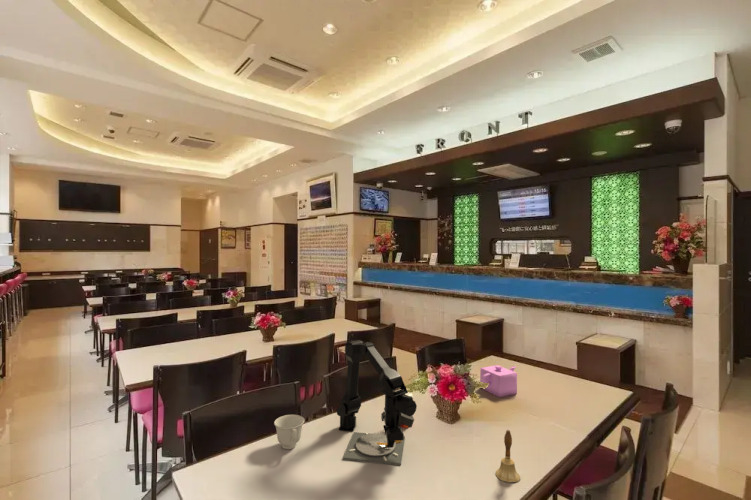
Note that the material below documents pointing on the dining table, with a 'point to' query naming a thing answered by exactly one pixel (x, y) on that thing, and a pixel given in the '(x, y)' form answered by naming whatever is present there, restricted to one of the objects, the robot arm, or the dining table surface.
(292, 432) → the teacup
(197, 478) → the dining table surface
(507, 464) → the hand bell
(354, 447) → the grey dial base plate
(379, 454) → the dial
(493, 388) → the teapot
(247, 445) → the dining table surface
